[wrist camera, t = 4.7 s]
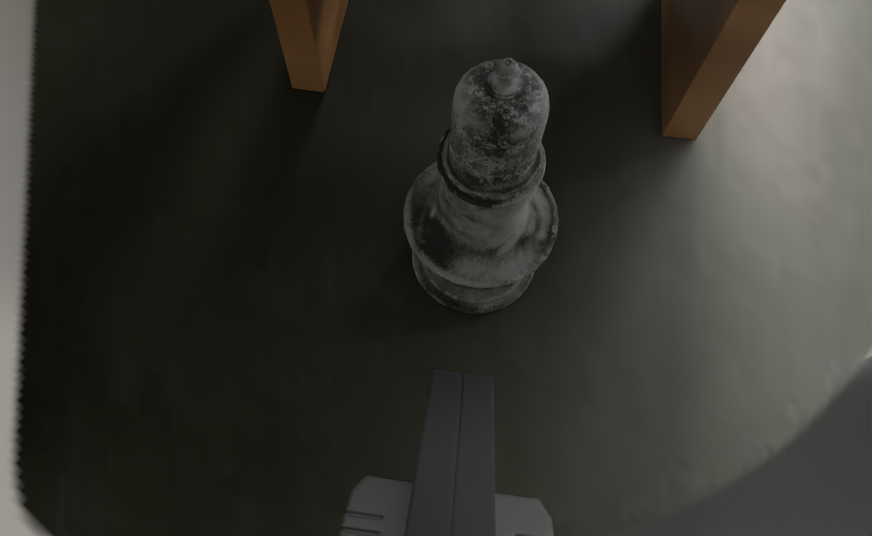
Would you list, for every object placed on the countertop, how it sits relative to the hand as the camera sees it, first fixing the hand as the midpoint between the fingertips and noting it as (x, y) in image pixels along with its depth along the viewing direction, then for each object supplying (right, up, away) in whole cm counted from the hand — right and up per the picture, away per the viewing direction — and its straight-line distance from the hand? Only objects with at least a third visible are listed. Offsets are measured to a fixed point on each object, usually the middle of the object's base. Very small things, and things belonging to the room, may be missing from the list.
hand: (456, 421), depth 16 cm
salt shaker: (+1, +4, +12) cm, 13 cm away
